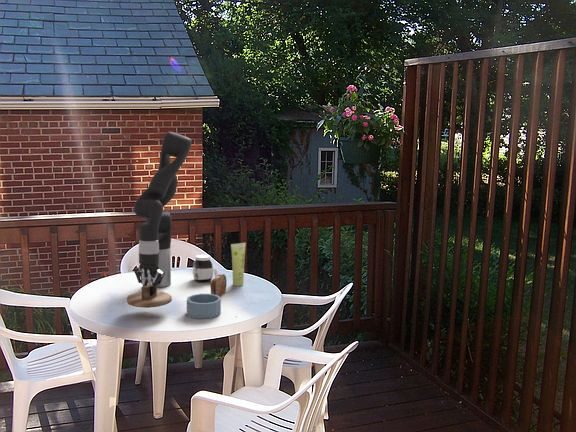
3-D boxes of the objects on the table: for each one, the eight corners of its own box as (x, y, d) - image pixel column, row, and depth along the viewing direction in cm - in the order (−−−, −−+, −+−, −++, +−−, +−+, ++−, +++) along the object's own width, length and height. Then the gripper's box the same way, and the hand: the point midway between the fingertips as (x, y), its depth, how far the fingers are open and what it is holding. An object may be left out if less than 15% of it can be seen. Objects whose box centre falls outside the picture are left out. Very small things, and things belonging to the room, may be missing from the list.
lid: (116, 302, 223) (116, 287, 222) (146, 290, 238) (146, 276, 237) (152, 310, 215) (152, 294, 214) (180, 298, 230) (180, 283, 229)
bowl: (180, 315, 227) (180, 300, 226) (199, 306, 238) (199, 291, 237) (208, 321, 221) (208, 305, 220) (226, 311, 233) (227, 296, 232)
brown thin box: (216, 300, 246) (216, 281, 245) (209, 300, 247) (209, 280, 245) (227, 290, 261) (227, 272, 259) (220, 290, 261) (220, 271, 260)
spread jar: (190, 278, 278) (190, 254, 276) (212, 275, 284) (212, 252, 282) (201, 285, 268) (201, 260, 266) (223, 282, 274) (224, 257, 272)
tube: (240, 287, 266) (241, 244, 263) (230, 285, 268) (230, 243, 265) (245, 283, 272) (245, 242, 269) (235, 282, 273) (235, 241, 270)
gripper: (127, 250, 223) (128, 294, 226) (157, 255, 217) (157, 300, 220) (141, 246, 229) (141, 289, 232) (169, 251, 223) (169, 295, 226)
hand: (149, 294), depth 226 cm, fingers closed on lid, 2 cm apart
